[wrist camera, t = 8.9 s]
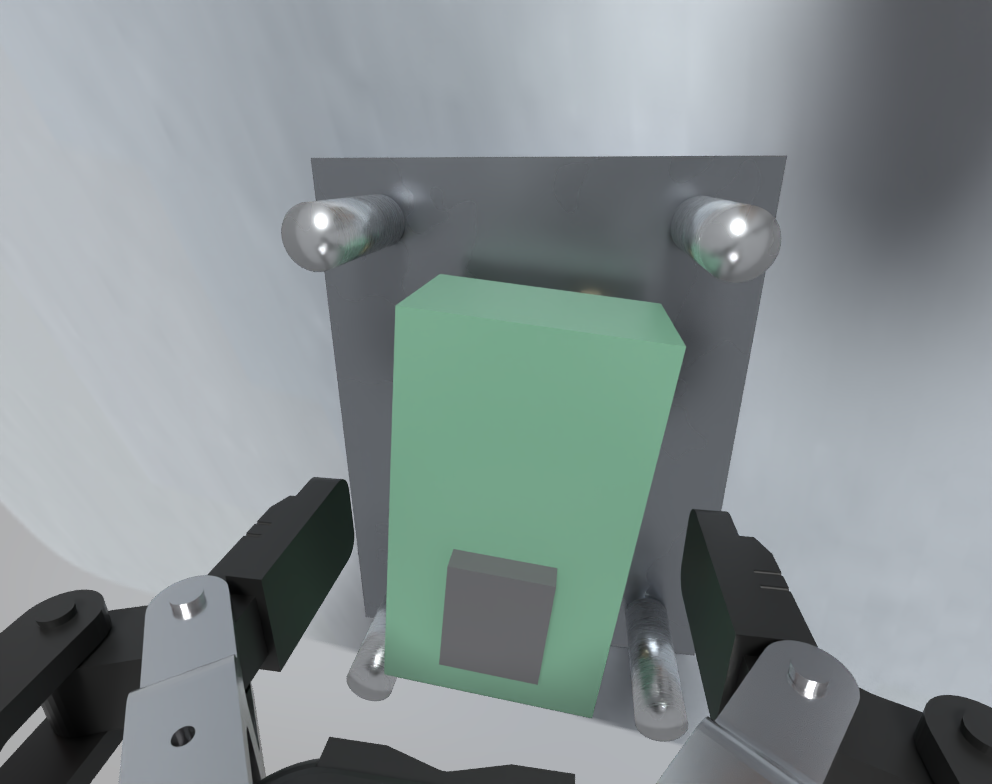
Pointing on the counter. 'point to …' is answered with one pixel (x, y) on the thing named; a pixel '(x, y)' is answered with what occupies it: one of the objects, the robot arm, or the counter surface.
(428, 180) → the chassis
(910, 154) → the counter surface
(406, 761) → the robot arm
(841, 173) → the counter surface
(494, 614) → the green block
